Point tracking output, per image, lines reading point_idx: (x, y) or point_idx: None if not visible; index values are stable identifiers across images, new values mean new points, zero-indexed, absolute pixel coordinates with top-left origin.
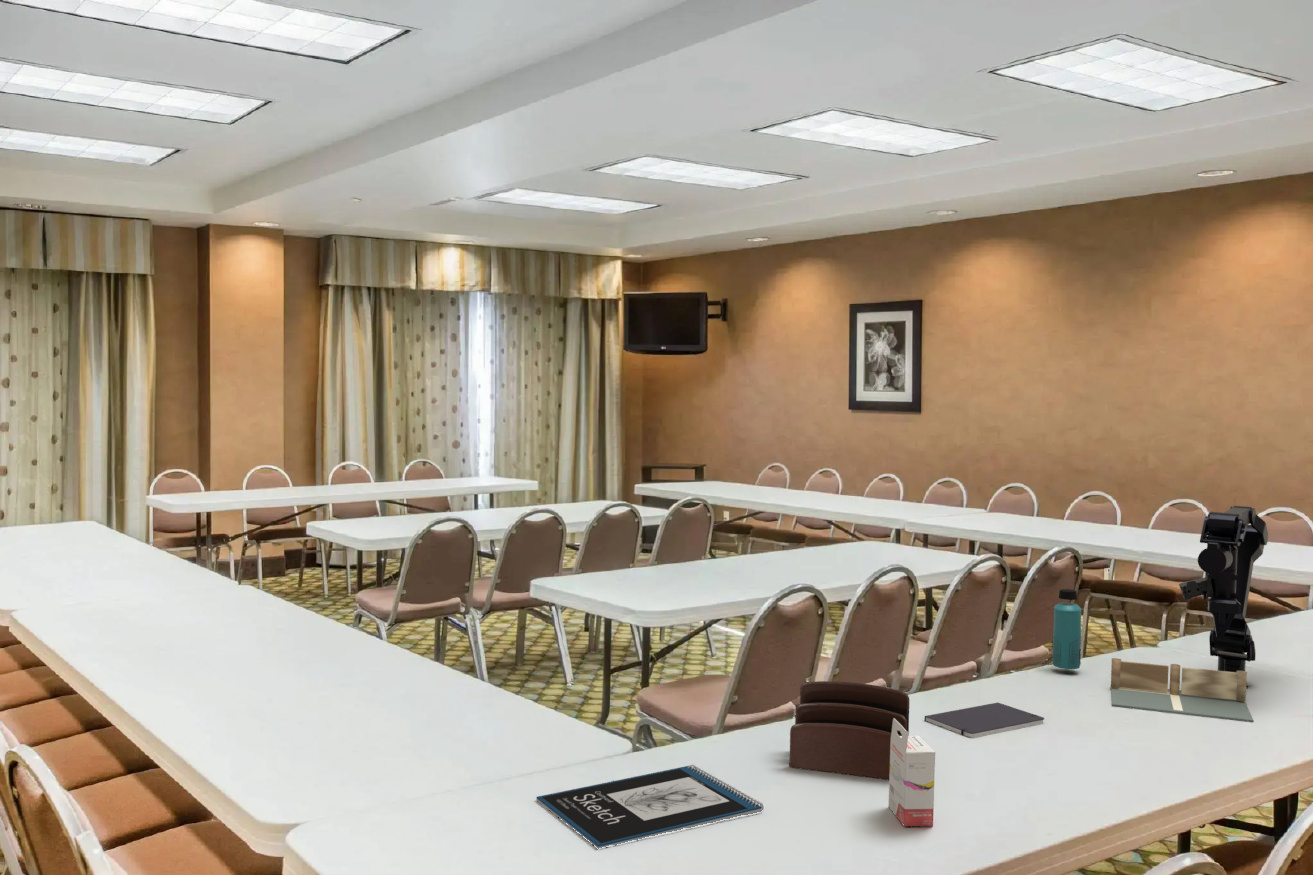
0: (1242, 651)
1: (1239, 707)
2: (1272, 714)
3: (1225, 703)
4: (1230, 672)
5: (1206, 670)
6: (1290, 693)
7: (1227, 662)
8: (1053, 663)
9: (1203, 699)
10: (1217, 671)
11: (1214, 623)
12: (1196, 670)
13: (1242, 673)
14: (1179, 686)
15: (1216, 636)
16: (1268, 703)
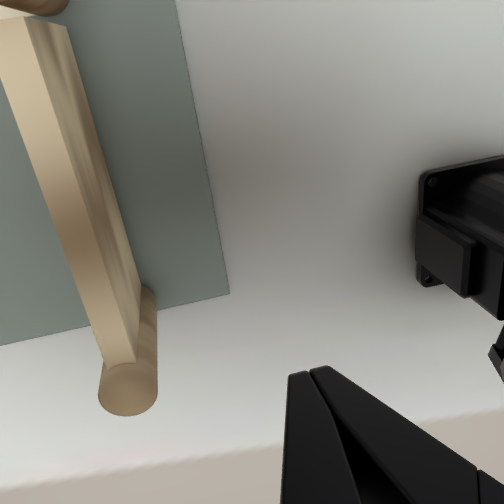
0: (501, 368)
1: (16, 311)
2: (43, 406)
3: (45, 253)
4: (110, 337)
5: (51, 208)
6: (405, 397)
7: (492, 253)
8: None
9: None
10: (74, 273)
11: (397, 484)
12: (26, 137)
13: (101, 399)
14: (29, 12)
15: (326, 368)
16: (214, 370)
